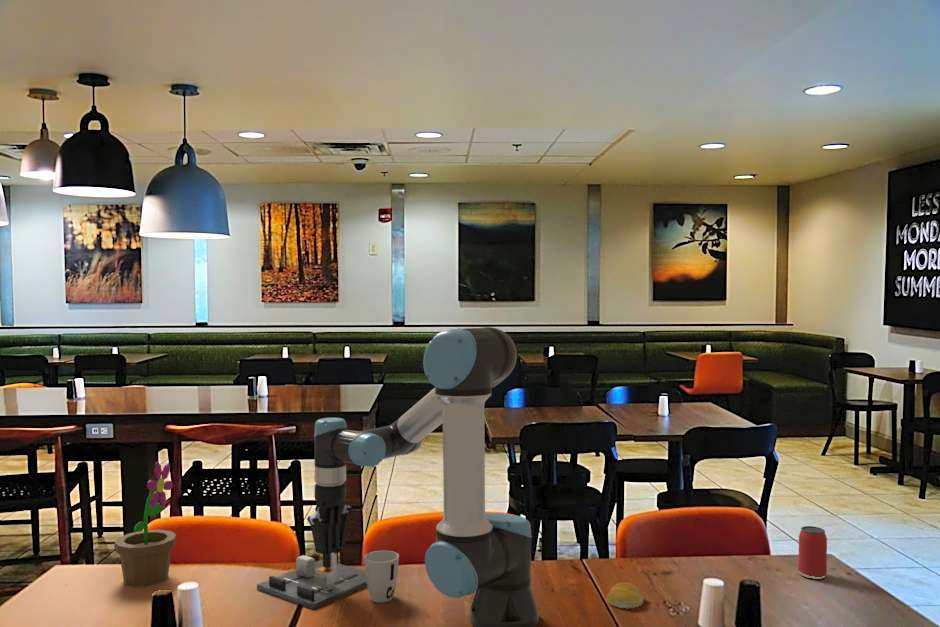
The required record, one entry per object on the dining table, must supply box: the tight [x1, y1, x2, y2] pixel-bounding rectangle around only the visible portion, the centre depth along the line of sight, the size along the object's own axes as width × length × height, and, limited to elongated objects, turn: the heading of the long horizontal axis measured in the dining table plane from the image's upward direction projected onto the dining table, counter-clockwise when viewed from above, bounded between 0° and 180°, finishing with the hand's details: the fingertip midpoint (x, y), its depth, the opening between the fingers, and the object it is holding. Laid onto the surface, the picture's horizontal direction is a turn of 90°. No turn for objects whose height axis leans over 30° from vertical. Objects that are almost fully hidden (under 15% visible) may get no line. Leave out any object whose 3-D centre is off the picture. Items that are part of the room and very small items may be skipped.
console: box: [256, 559, 367, 610], centre depth 188 cm, size 20×22×3 cm
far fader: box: [295, 554, 315, 578], centre depth 190 cm, size 4×2×4 cm, turn 54°
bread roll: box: [606, 581, 645, 610], centre depth 178 cm, size 8×9×4 cm
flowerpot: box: [113, 461, 178, 587], centre depth 191 cm, size 14×14×30 cm
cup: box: [363, 550, 400, 603], centre depth 179 cm, size 8×8×10 cm
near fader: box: [315, 567, 334, 591], centre depth 182 cm, size 4×2×4 cm, turn 54°
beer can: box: [798, 525, 828, 577], centre depth 195 cm, size 7×7×12 cm
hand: (330, 579), depth 184 cm, fingers closed
